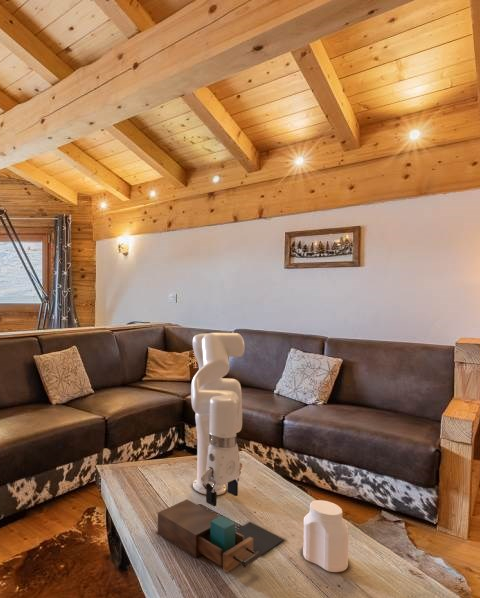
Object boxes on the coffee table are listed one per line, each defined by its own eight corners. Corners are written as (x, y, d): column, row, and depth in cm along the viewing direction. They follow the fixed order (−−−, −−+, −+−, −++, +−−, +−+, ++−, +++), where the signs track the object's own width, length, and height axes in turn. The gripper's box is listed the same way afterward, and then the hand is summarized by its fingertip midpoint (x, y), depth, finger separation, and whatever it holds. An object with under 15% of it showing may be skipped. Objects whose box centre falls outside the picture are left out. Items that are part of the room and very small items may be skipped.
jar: (353, 562, 120) (354, 510, 119) (337, 576, 114) (338, 521, 113) (313, 543, 129) (314, 494, 128) (297, 555, 123) (297, 504, 122)
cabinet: (225, 540, 130) (225, 519, 130) (195, 557, 122) (195, 535, 121) (186, 518, 142) (186, 499, 142) (157, 533, 134) (157, 512, 134)
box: (220, 541, 126) (221, 515, 126) (235, 550, 122) (235, 522, 122) (210, 548, 123) (210, 521, 123) (224, 556, 119) (224, 528, 119)
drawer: (266, 562, 118) (266, 545, 118) (239, 581, 111) (240, 563, 110) (212, 531, 133) (212, 516, 133) (185, 546, 125) (186, 530, 125)
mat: (249, 523, 139) (249, 522, 139) (284, 540, 130) (284, 539, 130) (227, 536, 132) (227, 535, 132) (261, 555, 123) (261, 554, 123)
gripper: (213, 450, 113) (213, 514, 114) (251, 437, 124) (251, 495, 124) (192, 443, 119) (192, 503, 119) (230, 430, 130) (229, 486, 130)
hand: (222, 499), depth 122 cm, fingers open, 9 cm apart
